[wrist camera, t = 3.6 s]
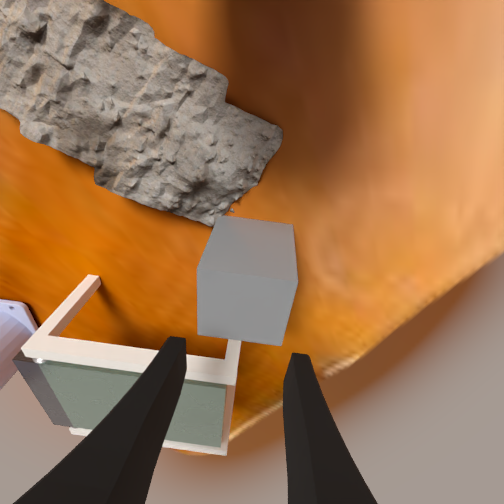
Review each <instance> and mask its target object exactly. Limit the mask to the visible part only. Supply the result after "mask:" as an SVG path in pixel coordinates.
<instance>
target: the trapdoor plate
mask: <svg viewBox="0 0 504 504" xmlns="http://www.w3.org/2000/svg"><path fill="white" fill-rule="evenodd" d="M12 361H13V362H14V364H15V365H16V367H17V368H18V370H19V371H20V373H21V375H22V376H23V378H24V379H25V381H26V382H27V384H28V385H29V387H30V388H31V390H32V392H33V393H34V395H35V396H36V398H37V399H38V401H39V402H40V404H41V405H42V407H43V408H44V410H45V412H46V413H47V414H48V416H49V418H50V419H51V421H52V422H53V424H55V425H62V426H69V427H72V428H83V429H90V430H93V429H94V428H95V427H96V426H97V425H98V424H99V423H100V422H101V421H102V420H103V419H104V418H105V416H106V415H107V414H108V413H109V412H110V411H111V410H112V409H113V408H114V406H115V405H116V404H117V403H118V402H119V401H120V400H121V398H122V397H123V396H124V395H125V394H126V393H127V392H128V390H129V389H130V388H131V387H132V386H133V384H134V383H135V382H136V381H137V379H138V378H139V377H140V376H141V374H142V373H139V372H132V371H125V370H118V369H110V368H103V367H96V366H88V365H81V364H74V363H67V362H59V361H52V360H45V359H37V358H30V357H26V356H25V355H24V353H23V351H22V350H20V351H19V353H18V354H17V355H16V356H15V357H14V358H13V359H12ZM226 395H227V384H220V383H212V382H205V381H198V380H190V379H184V383H183V387H182V391H181V395H180V398H179V400H178V403H177V406H176V409H175V412H174V415H173V417H172V420H171V423H170V426H169V429H168V431H167V434H166V437H165V440H169V441H176V442H183V443H191V444H198V445H205V446H212V447H219V448H221V441H222V435H223V426H224V415H225V405H226Z"/></svg>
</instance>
